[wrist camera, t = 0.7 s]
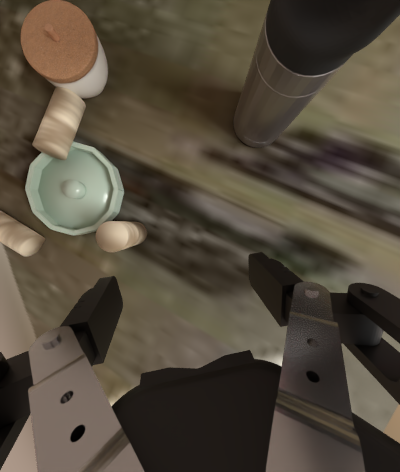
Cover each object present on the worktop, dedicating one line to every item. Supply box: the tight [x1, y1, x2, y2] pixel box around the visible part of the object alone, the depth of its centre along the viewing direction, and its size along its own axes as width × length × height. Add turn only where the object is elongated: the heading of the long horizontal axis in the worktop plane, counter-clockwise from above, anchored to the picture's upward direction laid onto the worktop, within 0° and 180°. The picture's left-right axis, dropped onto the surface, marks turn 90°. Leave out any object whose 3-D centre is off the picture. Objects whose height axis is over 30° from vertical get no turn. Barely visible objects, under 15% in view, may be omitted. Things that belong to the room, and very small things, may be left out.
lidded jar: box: [21, 0, 108, 99], centre depth 30 cm, size 11×11×9 cm
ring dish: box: [25, 142, 124, 235], centre depth 35 cm, size 16×16×3 cm
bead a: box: [96, 221, 147, 252], centre depth 32 cm, size 4×4×10 cm
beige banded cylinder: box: [32, 86, 86, 160], centre depth 31 cm, size 4×4×10 cm
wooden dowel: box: [0, 210, 45, 257], centre depth 35 cm, size 4×4×10 cm
